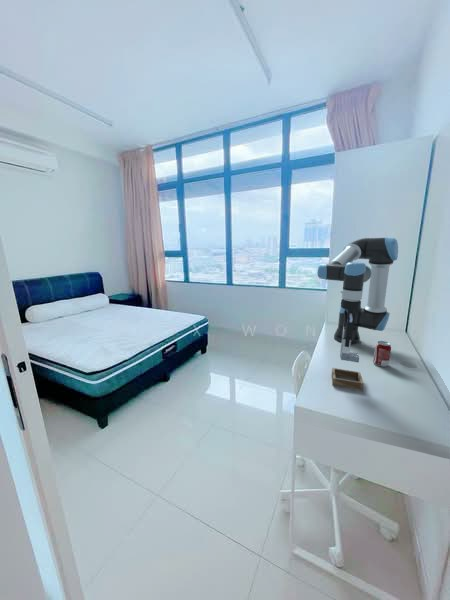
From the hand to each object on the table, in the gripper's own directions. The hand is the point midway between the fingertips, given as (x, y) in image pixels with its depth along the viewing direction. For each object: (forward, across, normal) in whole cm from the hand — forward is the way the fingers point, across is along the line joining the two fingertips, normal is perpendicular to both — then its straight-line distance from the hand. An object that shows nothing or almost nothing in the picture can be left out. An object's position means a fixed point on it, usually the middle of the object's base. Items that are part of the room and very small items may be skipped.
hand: (345, 350), depth 109 cm
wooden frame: (+16, 0, +2) cm, 16 cm away
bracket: (+4, 0, +2) cm, 4 cm away
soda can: (+16, -25, +20) cm, 36 cm away
